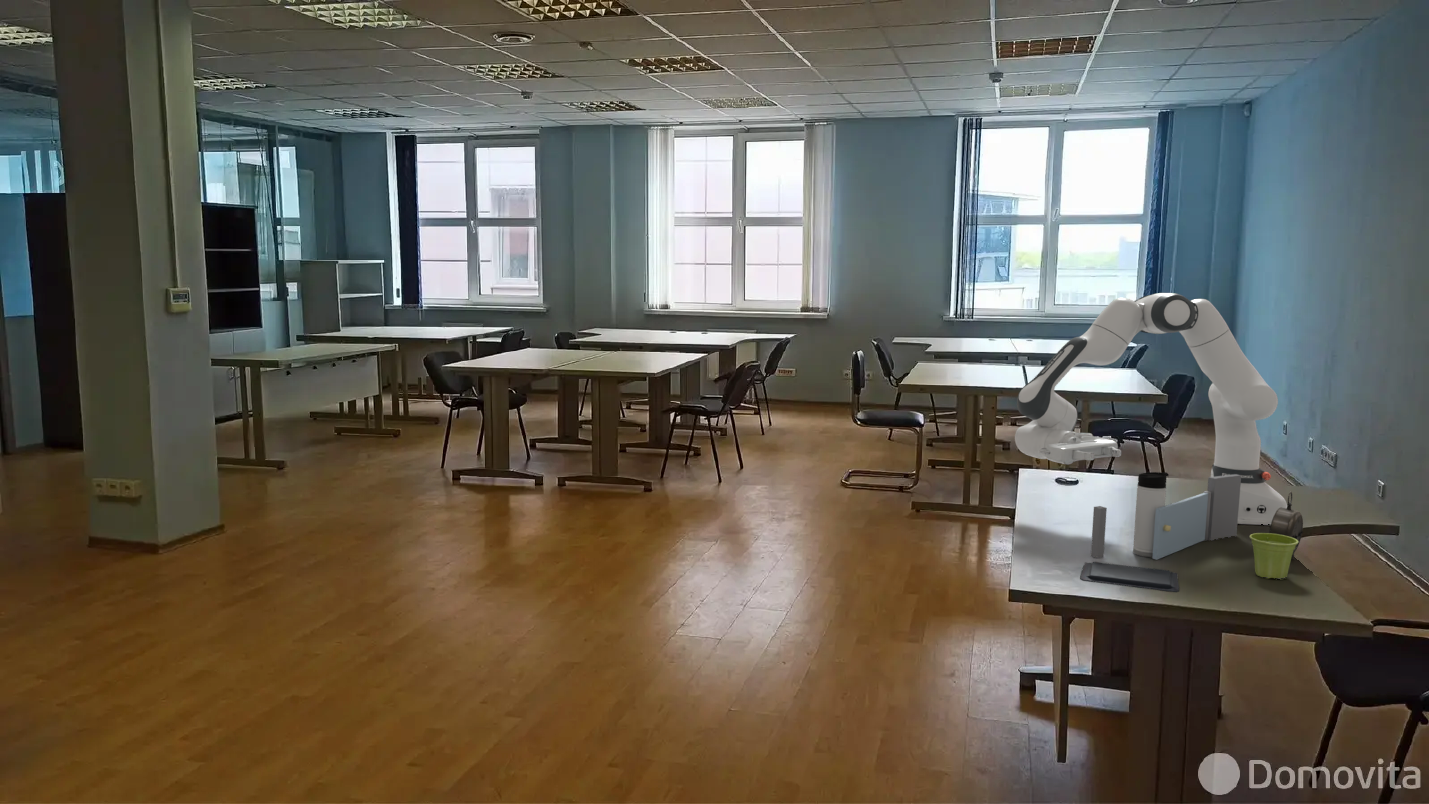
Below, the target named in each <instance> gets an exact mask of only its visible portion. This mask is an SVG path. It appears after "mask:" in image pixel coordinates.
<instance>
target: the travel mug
mask: <svg viewBox="0 0 1429 804" xmlns="http://www.w3.org/2000/svg"><path fill="white" fill-rule="evenodd" d="M1169 476H1170V475H1169V473H1168V472H1165V471H1163V472H1161V471H1151V472H1142V473H1139V474H1138V477H1137V481H1138V482H1137V488H1136V500H1135V501H1136V502H1135V503H1136V504H1135V519H1134V531H1133V533H1134V534H1133V544H1132V545H1133V547H1132V552H1133V553H1134V555H1137V556H1138V557H1139V556H1140V557H1145V558H1153V544H1154V529H1155V515H1156V509H1157V508H1160V507H1163V506H1166V497H1167V496H1166V495H1167V494H1166V493H1167V477H1169Z"/></svg>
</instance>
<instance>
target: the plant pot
mask: <svg viewBox="0 0 1429 804" xmlns="http://www.w3.org/2000/svg"><path fill="white" fill-rule="evenodd" d="M1249 539H1250V540H1251V544H1252V549H1253V558H1254V559H1253V560H1254V572H1255V574H1256V576H1258V577H1261V578H1263V577H1268V578H1267V579H1275V578H1284V577H1288V573H1289V570H1290V565H1291V561H1292V558H1293V557H1292V554H1293V550H1294V549H1295V546H1296V544H1298V540H1297V539H1295V538H1292V537H1289V536H1285V535H1279V534H1271V533H1269V532H1256V533H1255V532H1254V533H1252V534H1249Z"/></svg>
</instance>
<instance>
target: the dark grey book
mask: <svg viewBox="0 0 1429 804" xmlns="http://www.w3.org/2000/svg"><path fill="white" fill-rule="evenodd" d="M1082 569H1083V570H1082ZM1082 569H1081V573H1080V577H1079V580H1081V581H1083V582H1089V583H1090V582H1091V583H1099V584H1105V585H1107V584H1108V585H1114V586H1122V587H1130V588H1131V587H1132V588H1137V589H1146V590H1155V591H1161V592H1169V593H1178V592H1180V585H1179V576H1178V573H1177V572H1173V571H1170V570H1167V569H1159V568H1150V567H1149V568H1148V567H1143V566H1142V567H1141V566H1136V565H1135V566H1134V565H1125V564H1123V565H1122V564H1115V563H1107V562H1098V561H1093V562H1084V564H1083V566H1082Z"/></svg>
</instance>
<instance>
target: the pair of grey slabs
mask: <svg viewBox="0 0 1429 804" xmlns="http://www.w3.org/2000/svg"><path fill="white" fill-rule="evenodd" d="M1240 485H1241V475H1237V474H1233V475H1225V476H1216V477H1211V476H1208V478H1207V490H1206V491H1209V492H1211V501H1210V513H1209V526H1208V539H1207V541H1210V540H1211V541H1215V540H1214V539H1216V540H1219V539H1218V538H1222V539H1225V538H1224V537H1228V538H1232V537H1231V536H1235V537H1237V534H1238V533H1237V531H1238V524H1237V522H1238V510H1239V498H1240ZM1092 515H1093V516H1092V532H1091V544H1090V547H1091V548H1090V557H1093V558H1096V559H1103V558H1105V557H1104V555H1105V543H1106V542H1105V539H1106V526H1107V507H1105V506H1101V505H1095V506H1093V513H1092Z"/></svg>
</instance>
